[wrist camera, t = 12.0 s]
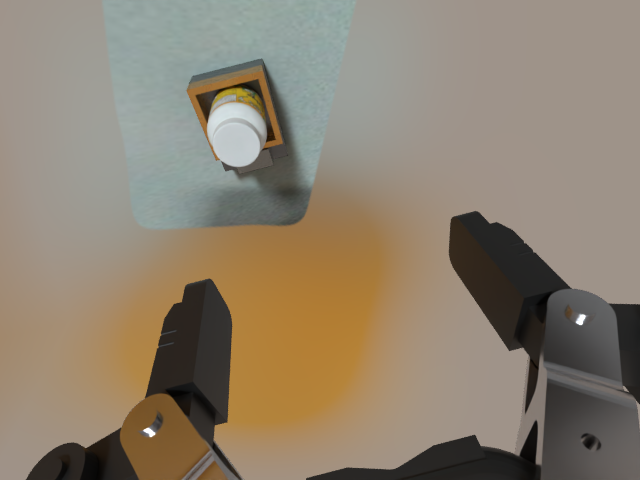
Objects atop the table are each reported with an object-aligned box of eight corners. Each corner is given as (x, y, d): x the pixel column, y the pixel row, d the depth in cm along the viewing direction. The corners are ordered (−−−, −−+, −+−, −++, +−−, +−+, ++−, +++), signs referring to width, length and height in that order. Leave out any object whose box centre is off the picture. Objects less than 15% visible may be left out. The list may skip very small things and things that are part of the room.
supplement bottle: (202, 95, 35) (190, 129, 28) (249, 73, 35) (250, 102, 27) (229, 141, 39) (224, 183, 31) (273, 122, 38) (278, 160, 31)
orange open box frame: (192, 76, 37) (185, 90, 33) (261, 58, 37) (263, 70, 33) (226, 160, 43) (224, 181, 39) (285, 145, 43) (289, 164, 39)
